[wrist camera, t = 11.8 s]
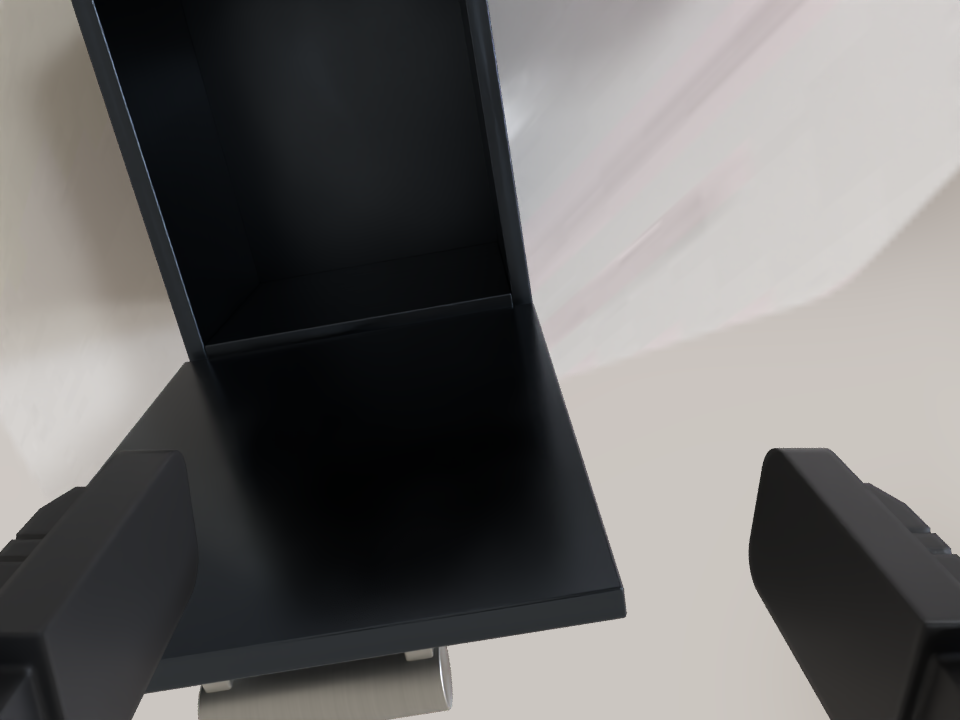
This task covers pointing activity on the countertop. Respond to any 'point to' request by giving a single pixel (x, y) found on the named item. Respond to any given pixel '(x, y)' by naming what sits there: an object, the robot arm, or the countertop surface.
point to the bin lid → (375, 516)
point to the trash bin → (313, 162)
